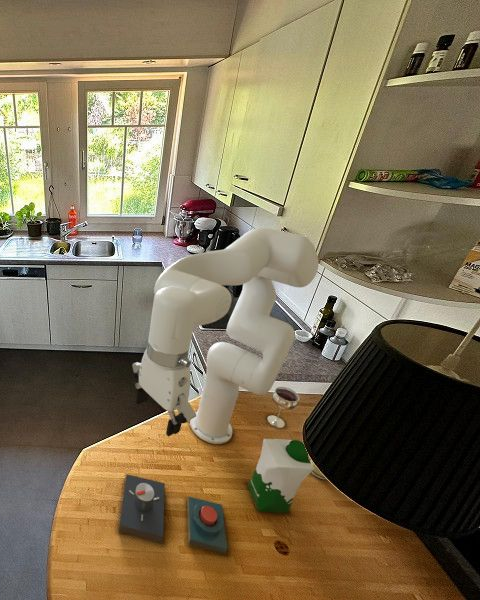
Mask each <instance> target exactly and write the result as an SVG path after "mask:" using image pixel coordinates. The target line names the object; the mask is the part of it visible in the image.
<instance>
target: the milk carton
mask: <svg viewBox="0 0 480 600" xmlns="http://www.w3.org/2000/svg"><path fill="white" fill-rule="evenodd" d="M303 443H304V442H302V441H301V440H298V439H283V438H282V439H281V438H263V440H262V446H261V452H260V457H259V458H258V461H257V464H256V467H255V469H254V472H253V474H252V477H251V478H250V480H249V481H248V483H247V486H248V488H249V492H250V494H251V496H252V498H253V501H254V503H255V505H256V508H257V511H258V512H264V513H281V514H289V511H290V508H291V506H292V502H293V501H294V499H295V496H296V494H297V493H298V491H299V490H300V487H301V485H302V483H303V481H304V480H305V479H306V478H307V477H308V476H309V475H310V474H311V471H312V470H313V469H314V468H313V466H312V465H311V462H310V459H309V455H308V453H307V451H306V449H305V446H304V444H305V443H304V444H303Z"/></svg>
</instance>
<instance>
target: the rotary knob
mask: <svg viewBox="0 0 480 600" xmlns="http://www.w3.org/2000/svg"><path fill="white" fill-rule="evenodd" d="M153 499H154V490H153V488H152V487H151V486H150V485H149V484H146V483H141V484H139V485H138V486H137V487H136V492H135V500H134V503H135V506H136V507H137V509H139V510H140V511H142V512H148V511H149V510H151V508H152V505H153Z"/></svg>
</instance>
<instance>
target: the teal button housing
mask: <svg viewBox="0 0 480 600" xmlns="http://www.w3.org/2000/svg"><path fill="white" fill-rule="evenodd" d="M186 504H187V505H186V506H187V507H186V508H187V512H186V513H187V539H188V540H187V543H188V545H190V546H194V547H198V548H201V549H205V550H208V551H212V552H215V553H219V554H222V555H227V551H228V543H227V534H226V528H225V527H226V525H225V519H224V510H223V504H221V503H217V502H213V501H210V500H209V501H208V500H205V499H200V498H197V497H192V496H188V497H187V500H186ZM204 506H210V507H212V508H213V509H214V510H215V511H216V513H217V520H216V523H215V524H214V525H213V526H208V525H206V524H204V523H203V522H202V520H201V518H200V512H201V509H202V507H204Z"/></svg>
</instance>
